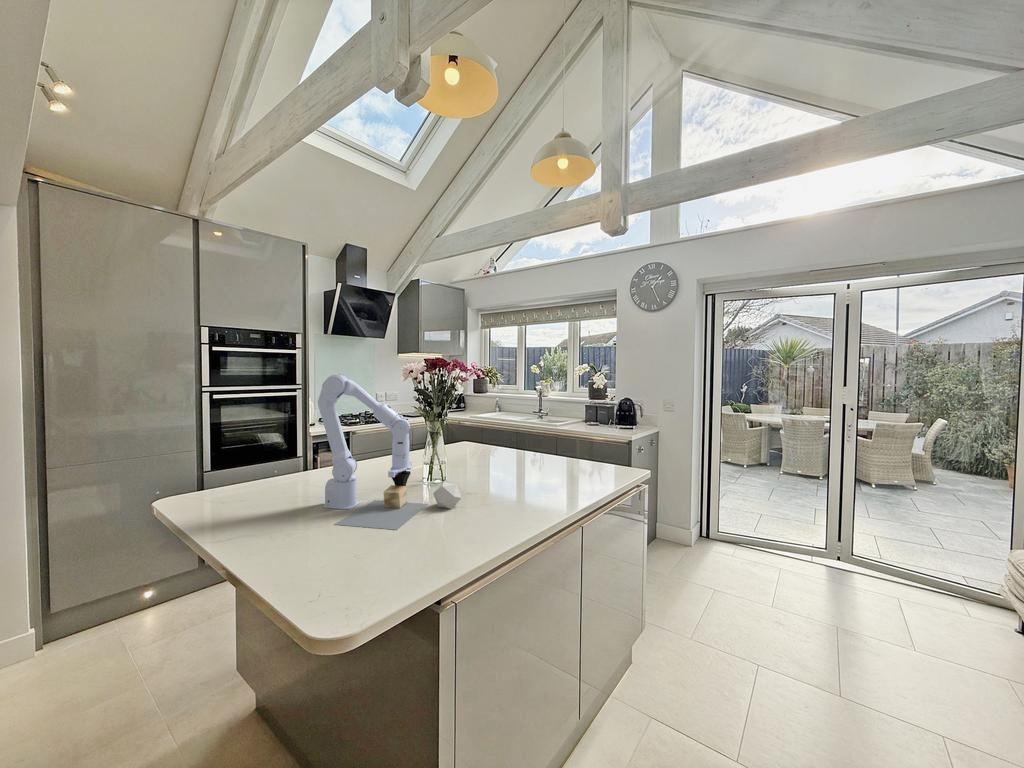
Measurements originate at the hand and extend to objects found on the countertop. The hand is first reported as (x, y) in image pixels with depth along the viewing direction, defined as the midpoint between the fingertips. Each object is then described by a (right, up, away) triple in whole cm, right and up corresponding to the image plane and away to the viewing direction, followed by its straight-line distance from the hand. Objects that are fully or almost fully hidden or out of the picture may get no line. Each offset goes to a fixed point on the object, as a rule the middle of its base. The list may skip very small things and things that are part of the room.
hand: (400, 493), depth 146 cm
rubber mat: (-2, -4, -11) cm, 12 cm away
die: (+17, -4, -3) cm, 17 cm away
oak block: (-1, -3, -3) cm, 4 cm away
